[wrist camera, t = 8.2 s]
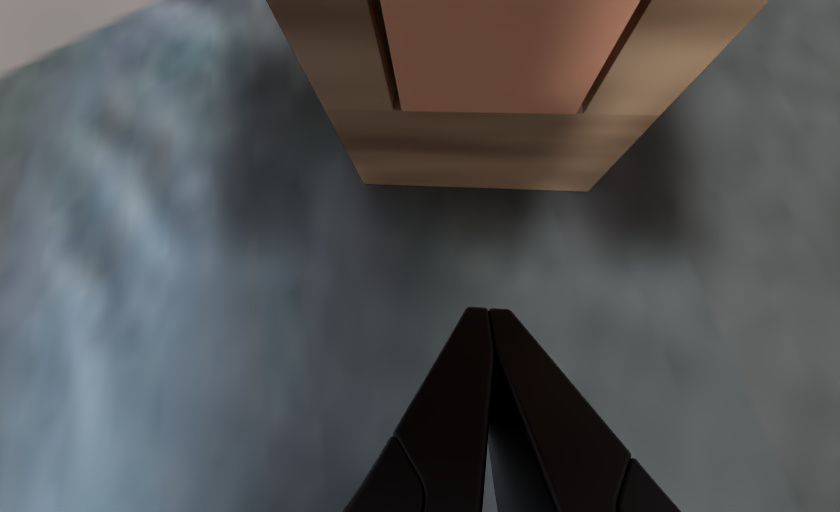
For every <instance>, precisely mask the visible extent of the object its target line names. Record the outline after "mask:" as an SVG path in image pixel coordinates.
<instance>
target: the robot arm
mask: <svg viewBox="0 0 840 512" xmlns="http://www.w3.org/2000/svg"><path fill="white" fill-rule="evenodd" d="M487 444H488V445H489V452H490V459H491V467H492V474H493V481H494V488H495V496H496V503H497V510H498V512H681V511H680V510H679V509H678V508H677V506H676V505H675V504H674V503H673V502H672V501H671V500H670V498H669V497H668V496H667V495H666V494H665V493H664V492H663V490H662V489H661V488H660V487H659V486H658V485H657V484H656V482H655V481H654V480H653V479H652V478H651V477H650V475H649V474H648V473H647V472H646V471H645V469H644V468H643V467H642V466H641V465H640V463H639V462H638V461H637V460H636V459H635V458H632V459H631V453H630V452H629V451H628V449H627V448H626V447H625V446H624V445H623V444H622V442H621V441H620V440H619V439H618V438H617V436H616V435H615V434H614V433H613V432H612V430H611V429H610V428H609V427H608V426H607V424H606V423H605V422H604V421H603V420H602V418H601V417H600V416H599V415H598V414H597V413H596V411H595V410H594V409H593V408H592V407H591V405H590V404H589V403H588V402H587V401H586V399H585V398H584V397H583V396H582V395H581V393H580V392H579V391H578V390H577V389H576V388H575V386H574V385H573V384H572V383H571V382H570V380H569V379H568V378H567V377H566V376H565V374H564V373H563V372H562V371H561V370H560V368H559V367H558V366H557V365H556V364H555V363H554V361H553V360H552V359H551V358H550V357H549V355H548V354H547V353H546V352H545V351H544V349H543V348H542V347H541V346H540V345H539V343H538V342H537V341H536V340H535V339H534V337H533V336H532V335H531V334H530V333H529V332H528V330H527V329H526V328H525V327H524V326H523V324H522V323H521V322H520V321H519V320H518V318H517V317H516V316H515V315H514V314H513V312H512V311H510V310H508V309H495V308H491V309H490V310H489V311H488V310H487V309H486V308H479V307H468V308H467V309H466V310H465V312H464V313H463V315H462V317H461V318H460V320H459V322H458V324H457V325H456V327H455V329H454V330H453V332H452V334H451V335H450V337H449V339H448V341H447V342H446V344H445V346H444V347H443V349H442V351H441V352H440V354H439V356H438V358H437V359H436V361H435V363H434V364H433V366H432V368H431V369H430V371H429V373H428V375H427V376H426V378H425V380H424V381H423V383H422V385H421V386H420V388H419V390H418V392H417V393H416V395H415V397H414V398H413V400H412V402H411V403H410V405H409V407H408V409H407V410H406V412H405V414H404V415H403V417H402V419H401V420H400V422H399V424H398V426H397V427H396V429H395V431H394V432H393V436H392V437H390V439H389V440H388V442H387V444H386V445H385V447H384V449H383V450H382V452H381V454H380V456H379V457H378V459H377V460H376V462H375V464H374V465H373V467H372V468H371V470H370V471H369V473H368V475H367V476H366V478H365V479H364V481H363V482H362V484H361V486H360V487H359V489H358V490H357V492H356V493H355V494H354V496H353V497H352V498H351V500H350V501H349V503H348V504H347V505H346V507H345V508H344V510H343V511H342V512H482V506H483V494H484V481H485V469H486V456H487Z"/></svg>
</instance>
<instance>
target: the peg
mask: <svg viewBox="0 0 840 512" xmlns="http://www.w3.org/2000/svg"><path fill="white" fill-rule="evenodd" d="M639 2H640V0H380V3H381V8H382V13H383V18H384V23H385V29H386V34H387V39H388V44H389V49H390V54H391V59H392V64H393V69H394V74H395V79H396V84H397V89H398V94H399V99H400V104H401V109H402V111H424V112H480V113H536V114H576V113H577V111H578V109H579V107H580V106H581V104H582V102H583V100H584V99H585V97H586V95H587V93H588V92H589V90H590V88H591V86H592V85H593V83H594V81H595V79H596V77H597V76H598V74H599V72H600V70H601V69H602V67H603V65H604V63H605V62H606V60H607V58H608V56H609V55H610V53H611V51H612V49H613V48H614V46H615V44H616V42H617V41H618V39H619V37H620V35H621V33H622V32H623V30H624V28H625V26H626V25H627V23H628V21H629V19H630V18H631V16H632V14H633V12H634V11H635V9H636V7H637V5H638V4H639Z"/></svg>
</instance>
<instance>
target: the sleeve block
mask: <svg viewBox="0 0 840 512" xmlns="http://www.w3.org/2000/svg"><path fill="white" fill-rule="evenodd" d="M266 1H267V3H268V5H269V7H270V9H271V11H272V12H273V14H274V16H275V18H276V20H277V22H278V24H279V26H280V27H281V29H282V31H283V33H284V35H285V37H286V39H287V41H288V42H289V44H290V46H291V48H292V50H293V52H294V54H295V56H296V57H297V59H298V61H299V63H300V65H301V67H302V69H303V71H304V72H305V74H306V76H307V78H308V80H309V82H310V84H311V86H312V87H313V89H314V91H315V93H316V95H317V97H318V99H319V101H320V102H321V104H322V106H323V108H324V110H325V112H326V114H327V116H328V118H329V119H330V121H331V123H332V125H333V127H334V129H335V131H336V133H337V134H338V136H339V138H340V140H341V142H342V144H343V146H344V148H345V149H346V151H347V153H348V155H349V157H350V159H351V161H352V163H353V164H354V166H355V168H356V170H357V172H358V174H359V176H360V178H361V179H362V181H363V183H364V184H381V185H411V186H440V187H469V188H498V189H528V190H557V191H586V192H588V191H589V190H590V189H591V188H592V187H593V186H594V185H595V184H596V183H597V182H598V181H599V180H600V178H601V177H602V176H603V175H604V174H605V173H606V172H607V171H608V170H609V169H610V168H611V167H612V166H613V165H614V164H615V163H616V162H617V161H618V159H619V158H620V157H621V156H622V155H623V154H624V153H625V152H626V151H627V150H628V149H629V148H630V147H631V146H632V145H633V144H634V143H635V142H636V140H637V139H638V138H639V137H640V136H641V135H642V134H643V133H644V132H645V131H646V130H647V129H648V128H649V127H650V126H651V125H652V124H653V123H654V122H655V120H656V119H657V118H658V117H659V116H660V115H661V114H662V113H663V112H664V111H665V110H666V109H667V108H668V107H669V106H670V105H671V104H672V103H673V101H674V100H675V99H676V98H677V97H678V96H679V95H680V94H681V93H682V92H683V91H684V90H685V89H686V88H687V87H688V86H689V85H690V84H691V82H692V81H693V80H694V79H695V78H696V77H697V76H698V75H699V74H700V73H701V72H702V71H703V70H704V69H705V68H706V67H707V66H708V65H709V64H710V62H711V61H712V60H713V59H714V58H715V57H716V56H717V55H718V54H719V53H720V52H721V51H722V50H723V49H724V48H725V47H726V46H727V45H728V43H729V42H730V41H731V40H732V39H733V38H734V37H735V36H736V35H737V34H738V33H739V32H740V31H741V30H742V29H743V28H744V27H745V26H746V24H747V23H748V22H749V21H750V20H751V19H752V18H753V17H754V16H755V15H756V14H757V13H758V12H759V11H760V10H761V9H762V8H763V7H764V5H765V4H766V3H767V2H768V1H769V0H640V2H639V4H638V5H637V7H636V9H635V11H634V12H633V14H632V16H631V18H630V19H629V21H628V23H627V25H626V26H625V28H624V30H623V32H622V33H621V35H620V37H619V39H618V41H617V42H616V44H615V46H614V48H613V49H612V51H611V53H610V55H609V56H608V58H607V60H606V62H605V63H604V65H603V67H602V69H601V70H600V72H599V74H598V76H597V77H596V79H595V81H594V83H593V85H592V86H591V88H590V90H589V92H588V93H587V95H586V97H585V99H584V100H583V102H582V104H581V106H580V107H579V109H578V111H577V113H576V114H536V113H480V112H424V111H402V109H401V104H400V99H399V94H398V89H397V84H396V79H395V74H394V69H393V64H392V59H391V54H390V49H389V44H388V39H387V34H386V29H385V23H384V18H383V13H382V8H381V3H380V0H266Z"/></svg>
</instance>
